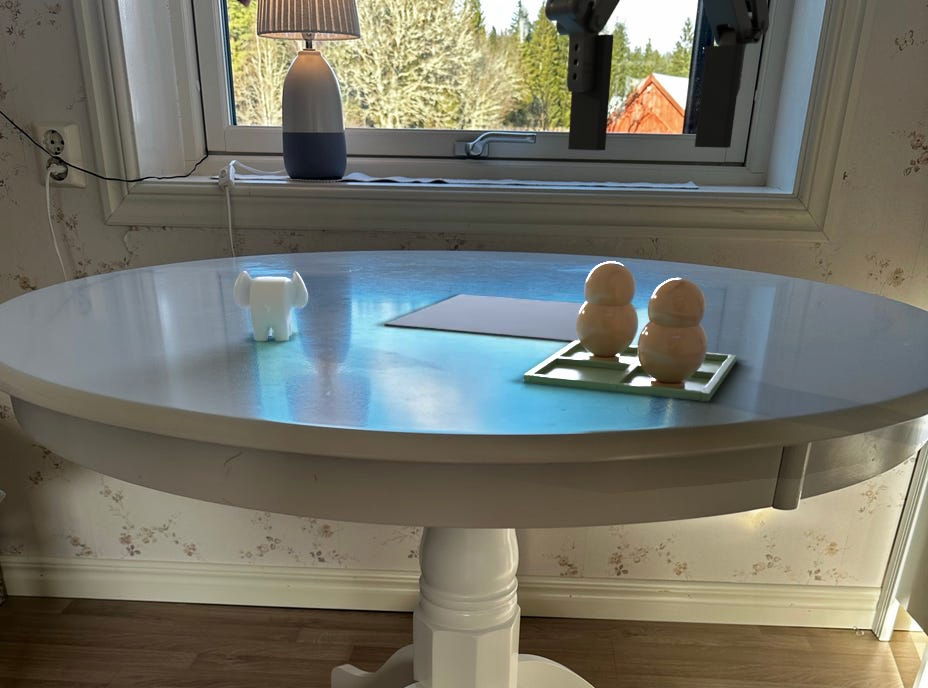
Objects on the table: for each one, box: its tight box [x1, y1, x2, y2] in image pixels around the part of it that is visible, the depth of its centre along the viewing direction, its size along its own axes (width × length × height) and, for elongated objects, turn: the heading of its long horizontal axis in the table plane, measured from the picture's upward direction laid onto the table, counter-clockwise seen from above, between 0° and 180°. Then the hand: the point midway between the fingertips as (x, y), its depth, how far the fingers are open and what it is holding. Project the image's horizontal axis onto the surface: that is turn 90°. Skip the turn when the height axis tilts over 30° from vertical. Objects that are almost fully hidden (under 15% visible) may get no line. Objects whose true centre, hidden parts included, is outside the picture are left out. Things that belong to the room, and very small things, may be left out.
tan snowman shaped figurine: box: [636, 277, 708, 388], centre depth 72 cm, size 5×5×8 cm
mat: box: [383, 293, 585, 343], centre depth 99 cm, size 20×20×1 cm
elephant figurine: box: [232, 270, 309, 342], centre depth 88 cm, size 7×8×6 cm
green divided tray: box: [522, 341, 738, 402], centre depth 77 cm, size 14×14×1 cm
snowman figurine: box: [576, 261, 639, 361], centre depth 79 cm, size 5×5×8 cm
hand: (652, 149), depth 68 cm, fingers open, 13 cm apart
